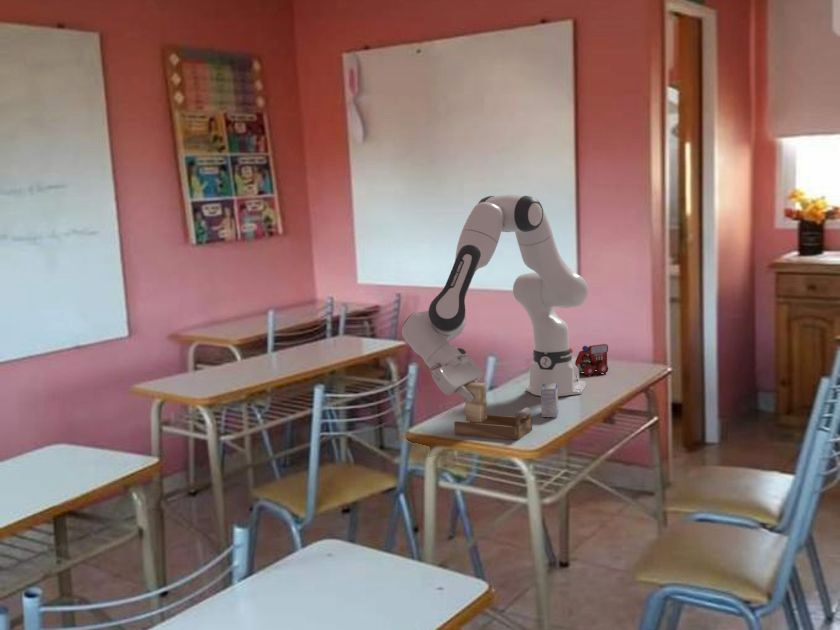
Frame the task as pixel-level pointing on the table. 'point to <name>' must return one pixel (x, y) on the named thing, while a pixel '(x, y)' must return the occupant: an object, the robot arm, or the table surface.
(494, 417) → the wooden drawer with handle
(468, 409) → the tan wooden block
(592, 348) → the toy fire truck
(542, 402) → the medicine box
